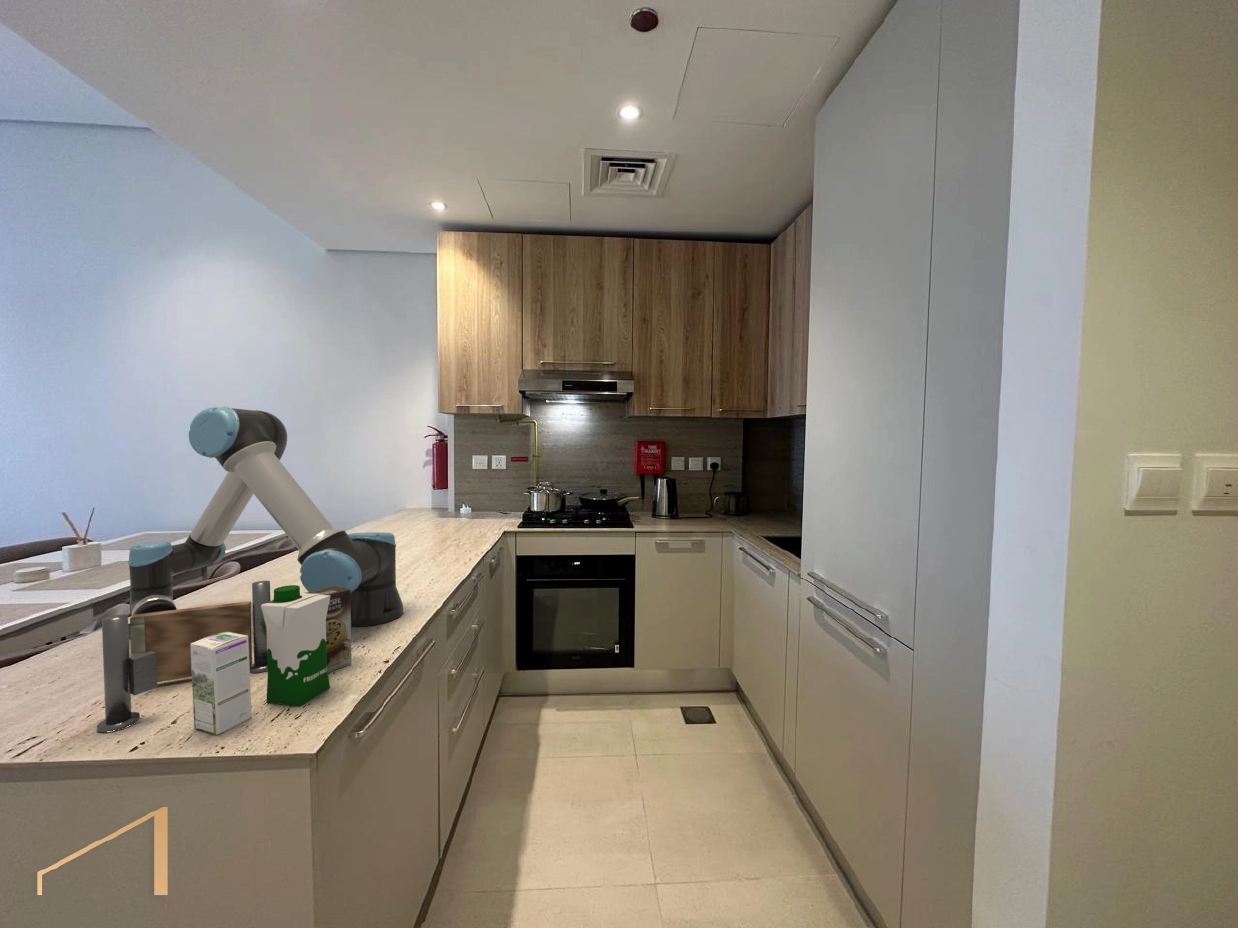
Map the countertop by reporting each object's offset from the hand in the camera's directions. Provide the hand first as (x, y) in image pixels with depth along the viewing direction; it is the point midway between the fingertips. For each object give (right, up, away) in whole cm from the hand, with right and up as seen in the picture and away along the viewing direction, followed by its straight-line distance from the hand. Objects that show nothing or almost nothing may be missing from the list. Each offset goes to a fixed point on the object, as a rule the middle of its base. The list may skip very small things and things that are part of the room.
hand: (163, 642), depth 97 cm
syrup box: (+25, -8, -16) cm, 31 cm away
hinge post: (+17, -7, +4) cm, 19 cm away
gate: (+7, -6, -1) cm, 9 cm away
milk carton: (+32, -7, -7) cm, 33 cm away
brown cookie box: (+29, -7, +4) cm, 30 cm away
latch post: (+8, -8, -16) cm, 20 cm away
